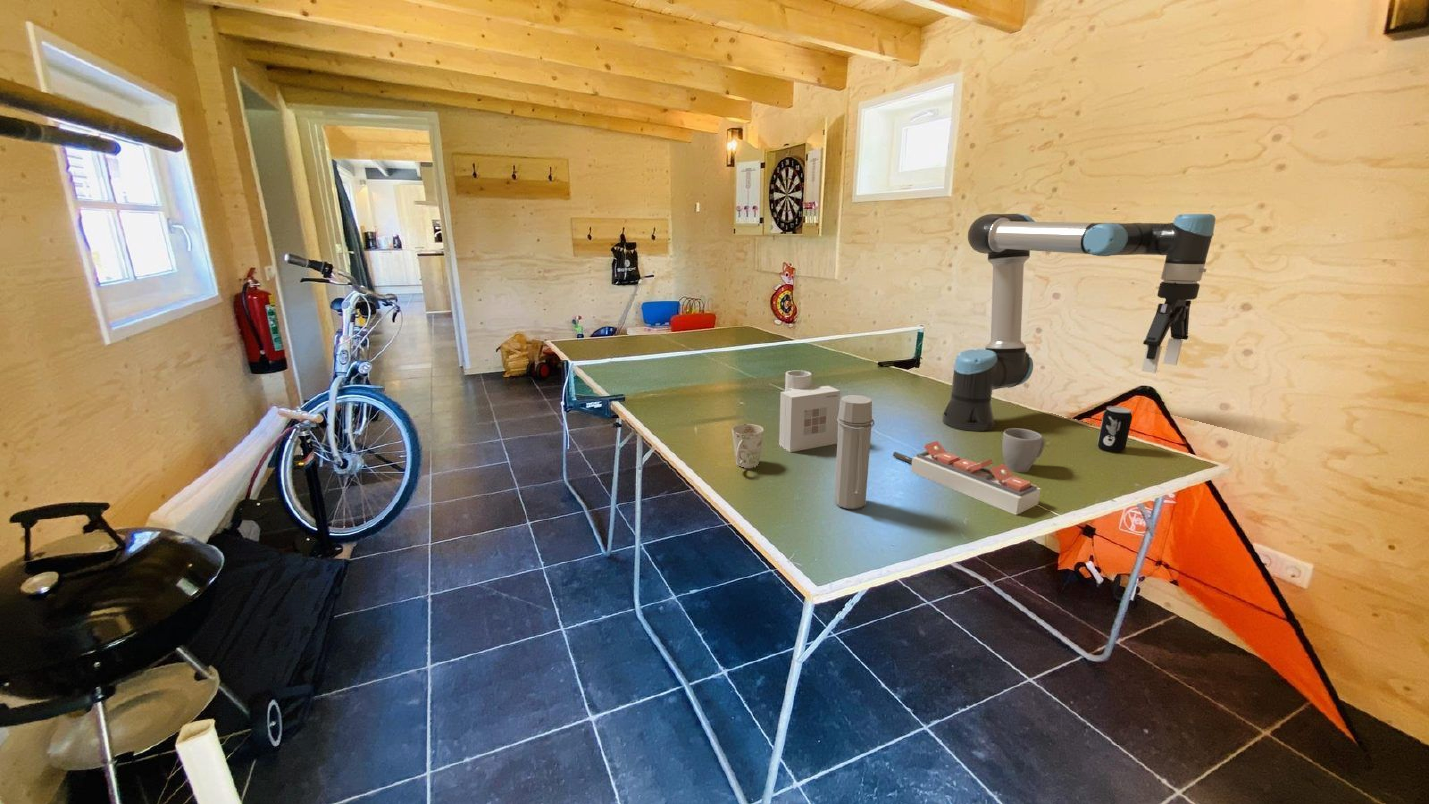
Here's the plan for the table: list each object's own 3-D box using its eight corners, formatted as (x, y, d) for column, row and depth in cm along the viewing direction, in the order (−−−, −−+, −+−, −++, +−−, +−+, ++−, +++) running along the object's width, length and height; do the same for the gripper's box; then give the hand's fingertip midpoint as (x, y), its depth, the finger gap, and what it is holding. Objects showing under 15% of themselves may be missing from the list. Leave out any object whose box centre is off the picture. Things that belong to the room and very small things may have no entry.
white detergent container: (790, 452, 158) (792, 384, 152) (758, 432, 175) (759, 369, 169) (837, 443, 165) (841, 377, 159) (803, 425, 181) (805, 364, 175)
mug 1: (766, 460, 153) (767, 425, 150) (754, 478, 142) (754, 441, 139) (737, 456, 156) (737, 422, 153) (722, 474, 144) (722, 438, 141)
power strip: (883, 460, 152) (884, 444, 151) (905, 453, 157) (906, 437, 155) (1015, 515, 123) (1019, 495, 121) (1037, 504, 127) (1041, 485, 126)
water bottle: (828, 497, 132) (833, 394, 124) (860, 495, 132) (868, 393, 125) (839, 516, 123) (846, 407, 116) (874, 514, 123) (883, 406, 116)
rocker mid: (953, 471, 137) (951, 462, 137) (964, 467, 139) (963, 458, 139) (983, 473, 130) (981, 463, 130) (994, 468, 132) (992, 459, 132)
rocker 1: (921, 450, 144) (925, 443, 142) (933, 447, 146) (936, 440, 145) (946, 469, 138) (949, 461, 137) (957, 464, 141) (961, 457, 140)
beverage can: (1129, 454, 155) (1138, 413, 152) (1102, 452, 156) (1111, 412, 153) (1117, 446, 161) (1126, 406, 158) (1092, 444, 163) (1100, 405, 159)
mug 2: (1017, 477, 141) (1023, 441, 139) (990, 464, 149) (995, 430, 147) (1054, 470, 145) (1060, 435, 142) (1026, 458, 153) (1031, 425, 150)
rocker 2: (986, 474, 129) (991, 466, 128) (998, 470, 132) (1002, 462, 130) (1016, 496, 124) (1021, 488, 123) (1027, 490, 126) (1032, 483, 125)
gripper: (1180, 286, 125) (1157, 378, 131) (1217, 280, 138) (1195, 363, 144) (1140, 283, 130) (1121, 371, 137) (1180, 277, 144) (1160, 358, 150)
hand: (1159, 368), depth 141 cm, fingers open, 13 cm apart
